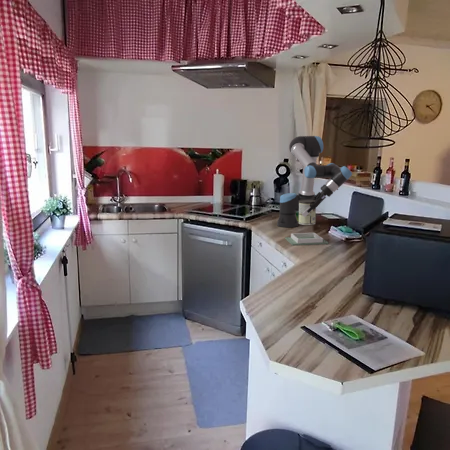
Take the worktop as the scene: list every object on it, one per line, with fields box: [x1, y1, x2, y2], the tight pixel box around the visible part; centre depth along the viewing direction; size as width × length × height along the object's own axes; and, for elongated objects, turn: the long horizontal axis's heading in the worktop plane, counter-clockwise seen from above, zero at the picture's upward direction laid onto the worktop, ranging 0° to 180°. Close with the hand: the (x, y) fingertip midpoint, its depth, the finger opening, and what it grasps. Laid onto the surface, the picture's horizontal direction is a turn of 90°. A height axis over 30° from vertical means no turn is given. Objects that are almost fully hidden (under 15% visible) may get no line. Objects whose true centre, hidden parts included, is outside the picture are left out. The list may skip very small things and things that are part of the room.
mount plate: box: [284, 232, 329, 246], centre depth 250 cm, size 17×22×4 cm
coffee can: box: [298, 199, 317, 226], centre depth 246 cm, size 10×10×14 cm
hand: (302, 214), depth 247 cm, fingers closed on coffee can, 10 cm apart
